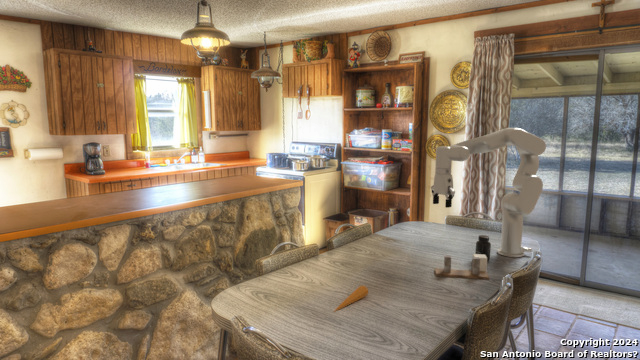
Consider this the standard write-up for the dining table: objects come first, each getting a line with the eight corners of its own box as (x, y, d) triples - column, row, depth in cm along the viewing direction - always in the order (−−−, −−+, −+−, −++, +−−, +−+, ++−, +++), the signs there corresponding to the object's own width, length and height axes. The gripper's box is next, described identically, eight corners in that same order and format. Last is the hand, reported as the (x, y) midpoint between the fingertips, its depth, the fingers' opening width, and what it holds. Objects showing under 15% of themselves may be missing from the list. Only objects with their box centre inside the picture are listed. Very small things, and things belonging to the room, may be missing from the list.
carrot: (362, 295, 160) (358, 284, 161) (371, 294, 157) (367, 283, 158) (331, 318, 146) (326, 306, 146) (340, 317, 143) (335, 305, 143)
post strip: (486, 273, 181) (486, 256, 180) (489, 279, 175) (490, 261, 173) (434, 270, 186) (435, 253, 185) (436, 275, 179) (436, 258, 178)
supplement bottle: (474, 260, 198) (475, 237, 197) (475, 256, 204) (477, 233, 203) (489, 263, 195) (490, 238, 194) (490, 259, 201) (491, 235, 200)
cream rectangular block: (484, 268, 188) (485, 254, 187) (486, 272, 183) (487, 258, 182) (472, 267, 189) (473, 253, 188) (474, 271, 184) (475, 257, 183)
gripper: (461, 172, 194) (459, 208, 196) (438, 169, 210) (437, 202, 212) (448, 173, 191) (447, 209, 193) (426, 170, 207) (425, 203, 209)
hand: (441, 205), depth 203 cm, fingers open, 9 cm apart
